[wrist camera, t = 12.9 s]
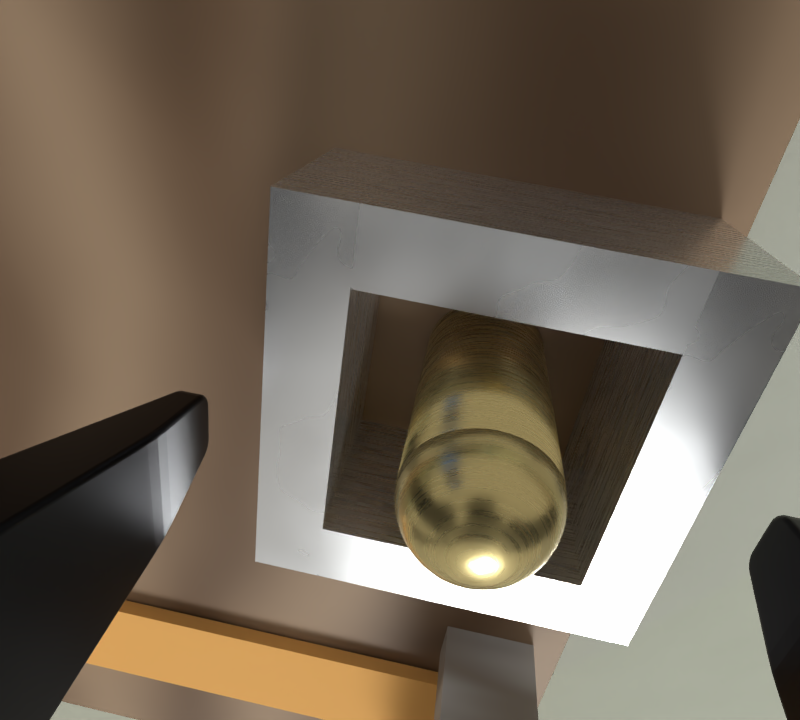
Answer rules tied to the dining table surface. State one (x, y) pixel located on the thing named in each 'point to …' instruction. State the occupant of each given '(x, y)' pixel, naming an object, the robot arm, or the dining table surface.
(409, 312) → the board
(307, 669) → the bolt
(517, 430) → the post
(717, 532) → the dining table surface
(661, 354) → the silver square frame
